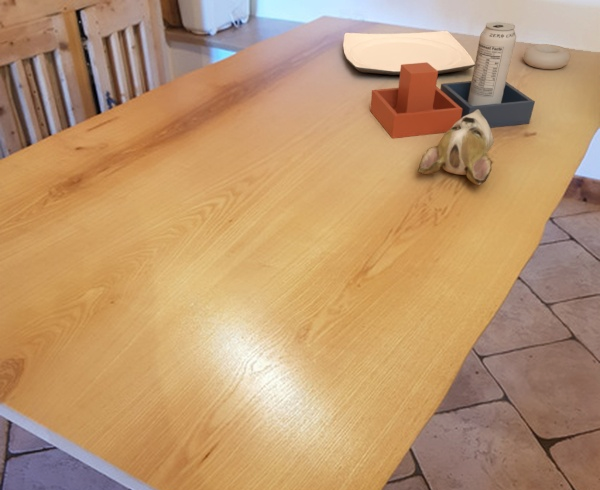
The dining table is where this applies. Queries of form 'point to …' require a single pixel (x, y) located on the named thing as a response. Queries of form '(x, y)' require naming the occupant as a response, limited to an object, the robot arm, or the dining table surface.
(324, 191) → the dining table surface
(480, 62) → the energy drink can
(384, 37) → the plate
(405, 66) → the terracotta block
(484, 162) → the ceramic sculpture
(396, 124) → the clay bin
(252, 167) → the dining table surface
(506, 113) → the slate bin
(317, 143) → the dining table surface
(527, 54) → the donut
